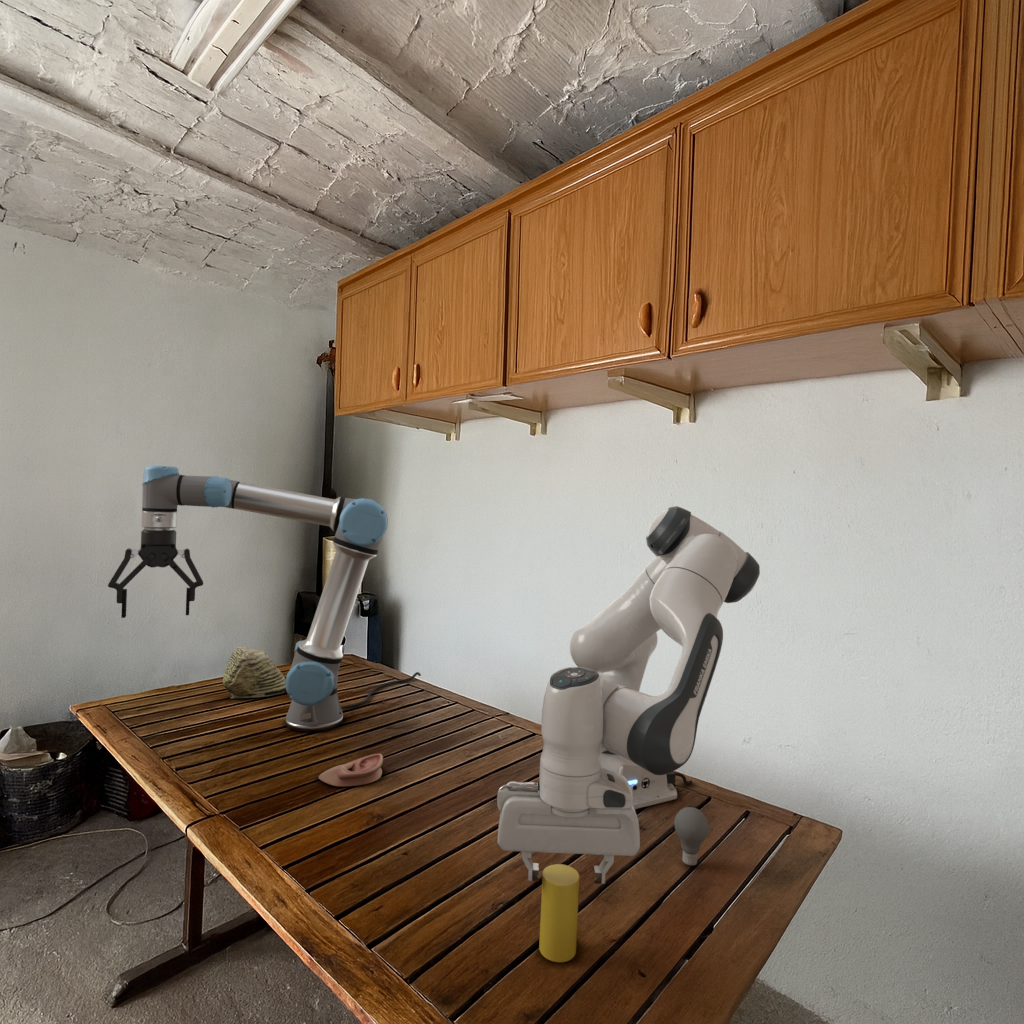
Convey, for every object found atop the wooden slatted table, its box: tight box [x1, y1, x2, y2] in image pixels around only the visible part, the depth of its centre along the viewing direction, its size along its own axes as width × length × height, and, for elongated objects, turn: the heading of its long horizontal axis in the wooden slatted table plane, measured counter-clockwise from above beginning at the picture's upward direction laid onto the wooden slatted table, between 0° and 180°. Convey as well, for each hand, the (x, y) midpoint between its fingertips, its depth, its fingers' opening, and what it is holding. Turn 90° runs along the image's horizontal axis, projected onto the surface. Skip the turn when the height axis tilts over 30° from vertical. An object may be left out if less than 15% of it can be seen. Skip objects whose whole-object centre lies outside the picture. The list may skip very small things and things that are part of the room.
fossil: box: [222, 646, 286, 699], centre depth 198 cm, size 9×18×15 cm, turn 132°
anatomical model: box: [318, 753, 384, 787], centre depth 144 cm, size 13×4×12 cm
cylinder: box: [538, 863, 580, 963], centre depth 91 cm, size 5×5×11 cm
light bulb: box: [673, 806, 710, 866], centre depth 114 cm, size 6×6×10 cm
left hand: (156, 615), depth 155 cm, fingers open, 13 cm apart
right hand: (566, 880), depth 91 cm, fingers open, 8 cm apart
